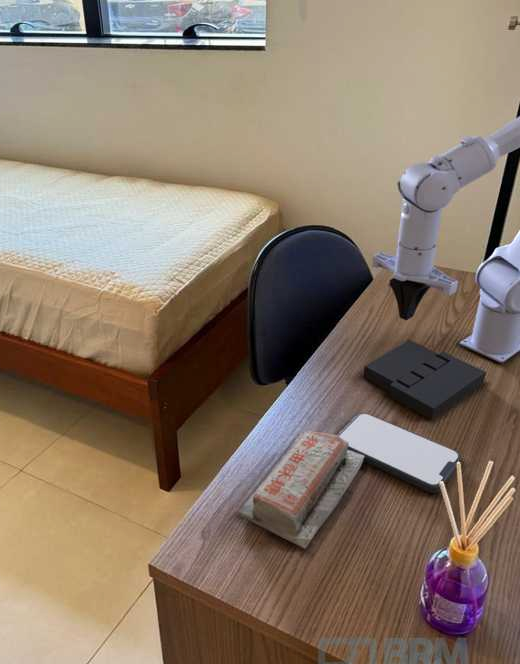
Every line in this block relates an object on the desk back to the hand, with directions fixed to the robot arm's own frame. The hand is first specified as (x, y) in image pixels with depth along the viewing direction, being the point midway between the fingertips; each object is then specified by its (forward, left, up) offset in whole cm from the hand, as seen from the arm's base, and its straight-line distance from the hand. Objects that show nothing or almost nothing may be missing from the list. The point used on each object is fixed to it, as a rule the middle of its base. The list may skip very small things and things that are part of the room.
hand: (406, 316), depth 102 cm
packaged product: (+35, +10, -9) cm, 37 cm away
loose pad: (+3, +3, -9) cm, 10 cm away
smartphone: (+20, +14, -9) cm, 26 cm away
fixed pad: (+3, +9, -9) cm, 13 cm away
